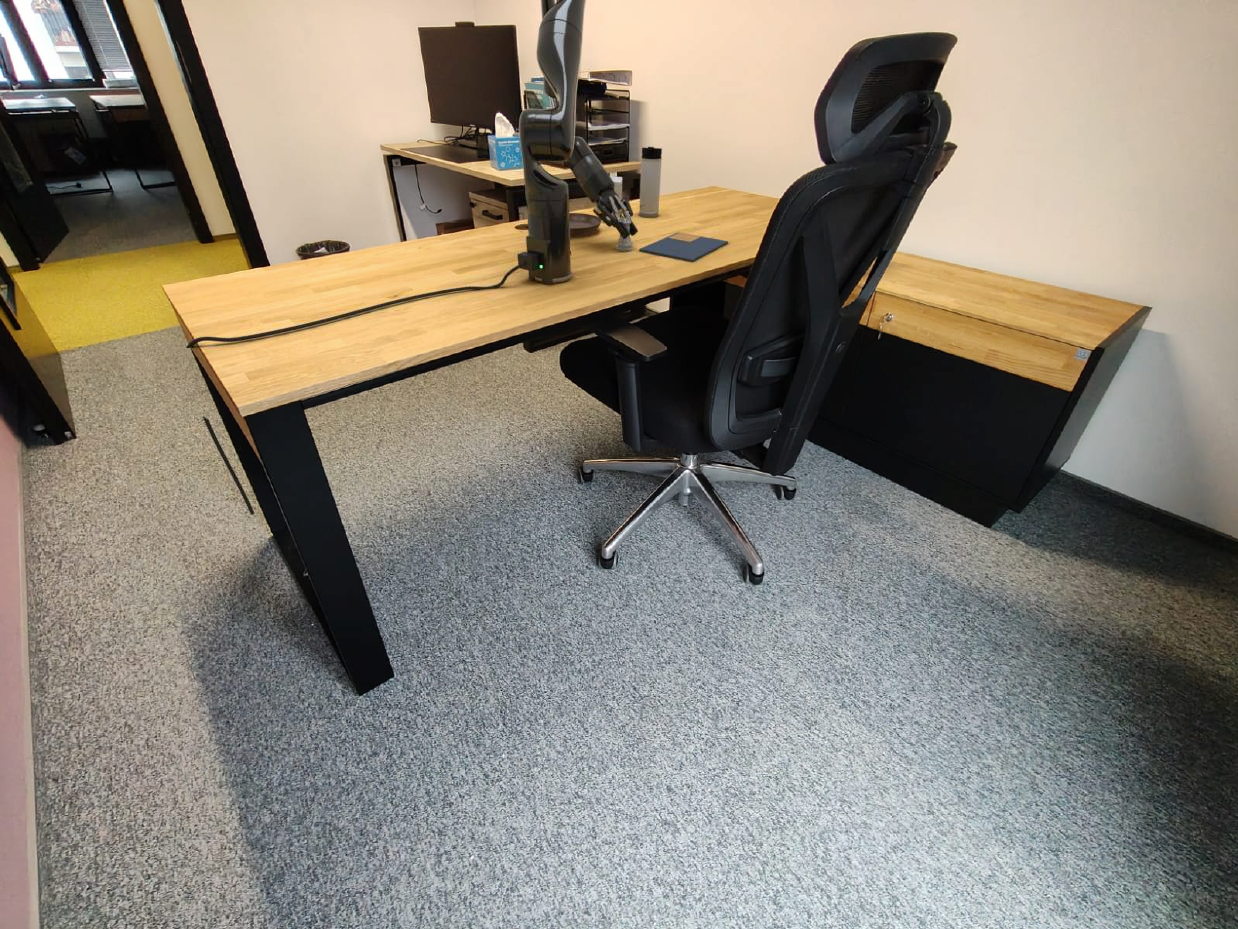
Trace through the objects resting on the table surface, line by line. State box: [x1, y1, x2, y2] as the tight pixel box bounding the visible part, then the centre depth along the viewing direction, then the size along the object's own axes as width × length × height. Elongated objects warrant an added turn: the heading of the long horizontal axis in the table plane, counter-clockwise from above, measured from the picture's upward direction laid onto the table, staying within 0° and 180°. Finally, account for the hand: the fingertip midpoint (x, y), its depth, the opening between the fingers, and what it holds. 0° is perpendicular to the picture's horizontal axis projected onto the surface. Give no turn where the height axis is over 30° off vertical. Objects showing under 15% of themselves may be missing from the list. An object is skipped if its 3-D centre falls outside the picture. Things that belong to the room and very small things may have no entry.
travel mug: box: [638, 146, 663, 218], centre depth 177 cm, size 6×7×20 cm
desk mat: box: [638, 231, 729, 263], centre depth 153 cm, size 22×16×1 cm
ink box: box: [605, 175, 623, 221], centre depth 174 cm, size 9×5×12 cm, turn 179°
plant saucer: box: [569, 212, 603, 237], centre depth 164 cm, size 18×18×3 cm
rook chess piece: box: [615, 216, 634, 252], centre depth 148 cm, size 4×4×8 cm
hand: (631, 234), depth 147 cm, fingers closed on rook chess piece, 3 cm apart
